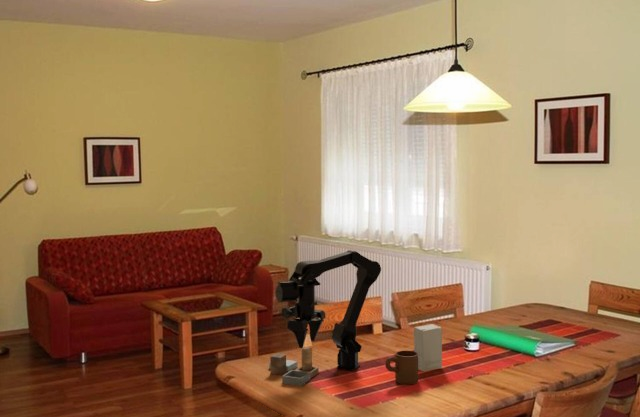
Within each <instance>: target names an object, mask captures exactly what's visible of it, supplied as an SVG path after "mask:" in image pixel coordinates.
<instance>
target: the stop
mask: <svg viewBox="0 0 640 417" xmlns="http://www.w3.org/2000/svg"><path fill="white" fill-rule="evenodd" d="M269 357H270V358H269V360H270V361H269V363H270V368H269V369H270V375H271V374H272V375H277V374H279V376H282V375H284V374H286V373H287V372H286V360H287V354H284V353H277V352H276V353H274V354H272V355H270V356H269ZM281 374H282V375H281Z"/></svg>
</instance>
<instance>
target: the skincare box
mask: <svg viewBox="0 0 640 417" xmlns="http://www.w3.org/2000/svg"><path fill="white" fill-rule="evenodd" d="M413 338H414V339H413V345H414V346H413V347H414V349H413V350H414V352H417V353H418V371H419V370H420V371H421V372H428V371H433V370H438V369H442V368H443V328H442V327H441V326H439V325H436V324H433V323H429V324H425V325H421V326H420V325H419V326H414V327H413Z"/></svg>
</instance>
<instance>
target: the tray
mask: <svg viewBox="0 0 640 417" xmlns="http://www.w3.org/2000/svg"><path fill="white" fill-rule="evenodd" d="M281 377H282V378H281V381H282V382H281V383H282V384H283V385H284V384H285V385H291V386H296V385H297V386H298V387H302V386H304V385H305V384H307V383H308V382H310V381H311V380H312V378H311V372H304V371H296V369H293V370H291V371H289V372H285V373H284V374H282V375H281ZM297 386H296V387H297Z"/></svg>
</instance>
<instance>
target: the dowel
mask: <svg viewBox="0 0 640 417" xmlns="http://www.w3.org/2000/svg"><path fill="white" fill-rule="evenodd" d="M301 366H302V371H309V372H311V371H312V367H313V348H312V347H309V346H307V347H304V346H303V348H301Z"/></svg>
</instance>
